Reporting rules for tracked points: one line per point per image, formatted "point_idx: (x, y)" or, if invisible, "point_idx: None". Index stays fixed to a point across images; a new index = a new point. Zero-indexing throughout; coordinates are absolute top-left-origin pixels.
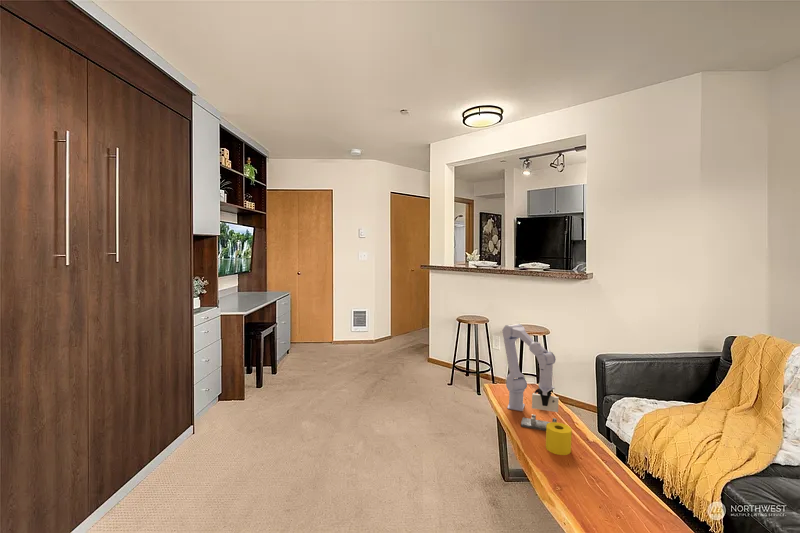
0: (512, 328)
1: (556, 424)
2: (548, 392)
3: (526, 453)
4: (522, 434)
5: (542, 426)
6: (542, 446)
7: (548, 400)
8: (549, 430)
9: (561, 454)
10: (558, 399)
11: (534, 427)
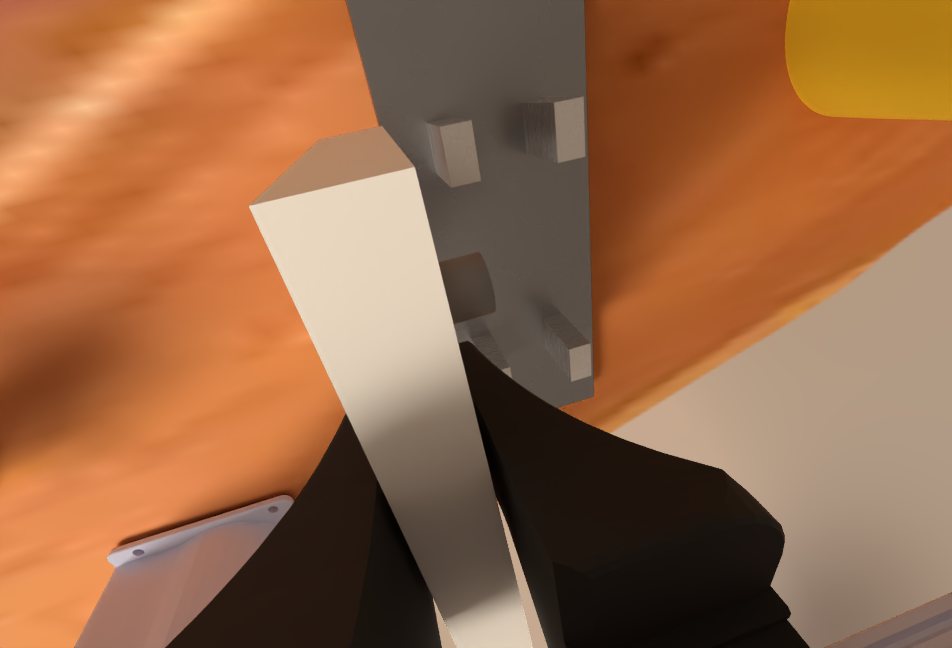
0: None
1: None
2: (614, 636)
3: (944, 209)
4: (702, 326)
5: (558, 246)
6: (853, 139)
7: (531, 393)
8: None
9: None
10: (404, 159)
11: (587, 299)
